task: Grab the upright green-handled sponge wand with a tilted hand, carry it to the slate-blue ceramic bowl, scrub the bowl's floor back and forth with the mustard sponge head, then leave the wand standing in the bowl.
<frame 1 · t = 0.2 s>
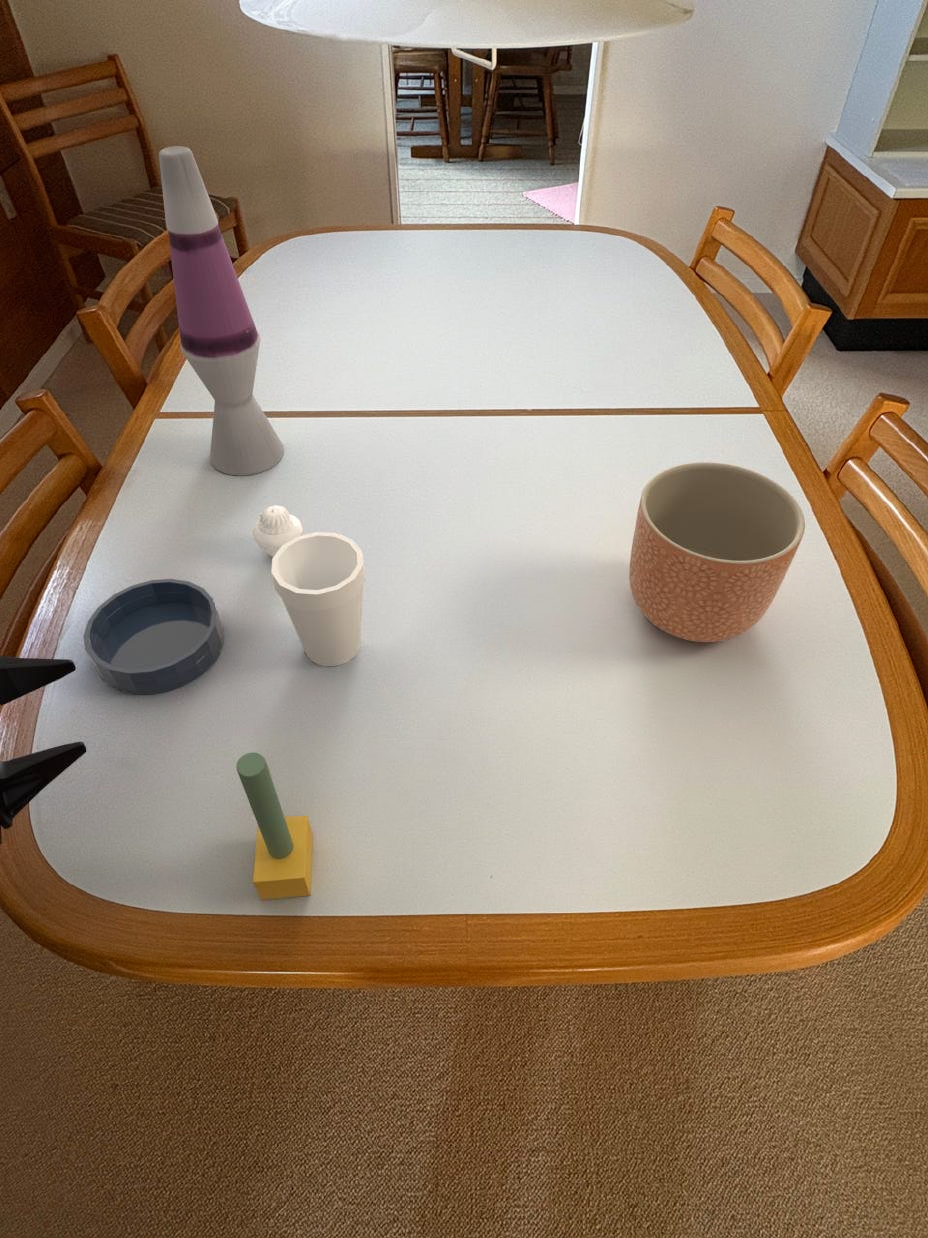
hand: (79, 703, 65), 15 cm above the table, tool horizontal, fingers open, 9 cm apart
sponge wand: (287, 866, 72), on the table
bowl: (160, 645, 90), on the table
foam cup: (333, 646, 90), on the table
lamp: (247, 455, 116), on the table
white citrus juicer: (282, 552, 101), on the table
planter: (690, 609, 94), on the table
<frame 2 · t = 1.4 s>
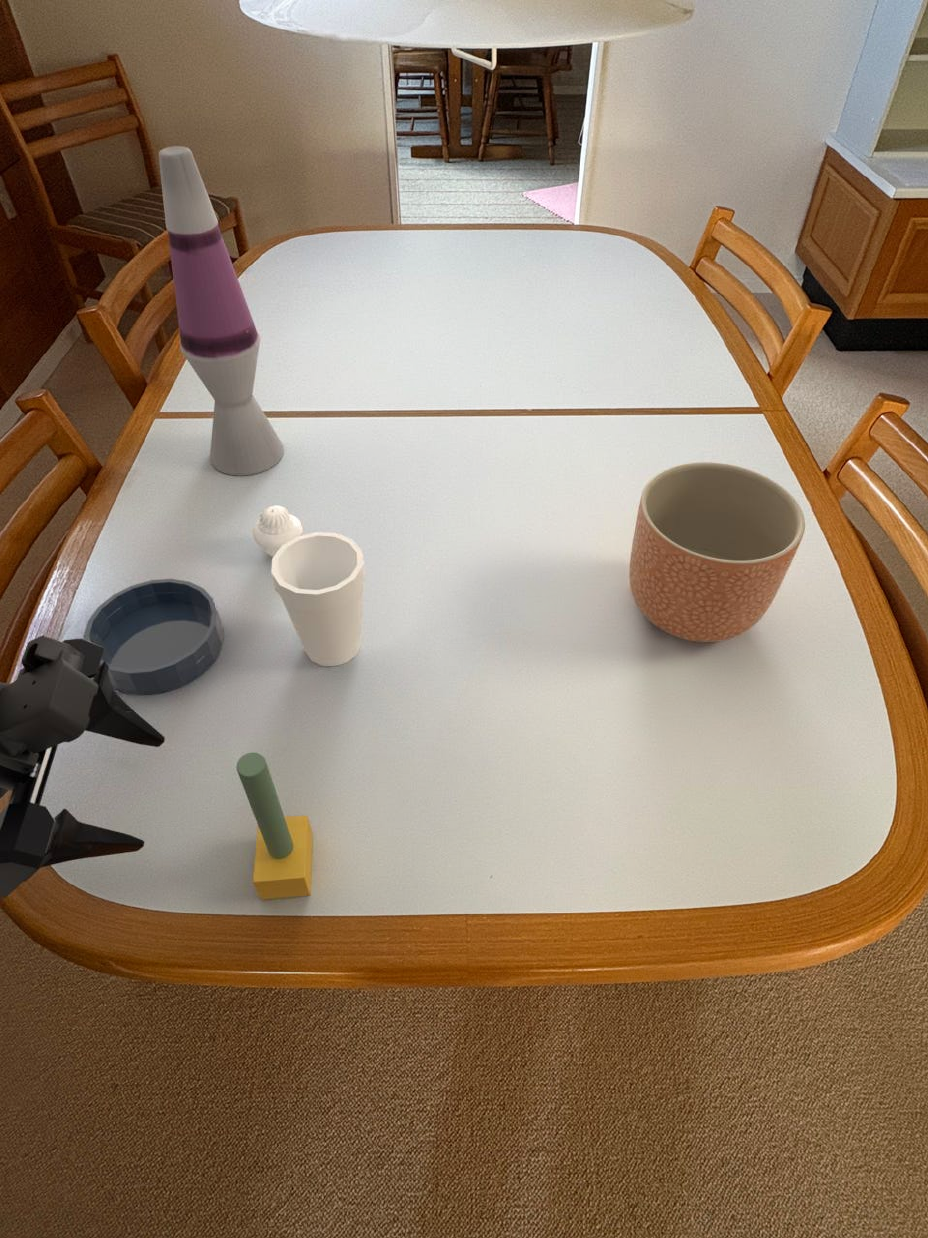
hand: (152, 791, 61), 14 cm above the table, tool tilted 45°, fingers open, 9 cm apart
nothing on the table moved.
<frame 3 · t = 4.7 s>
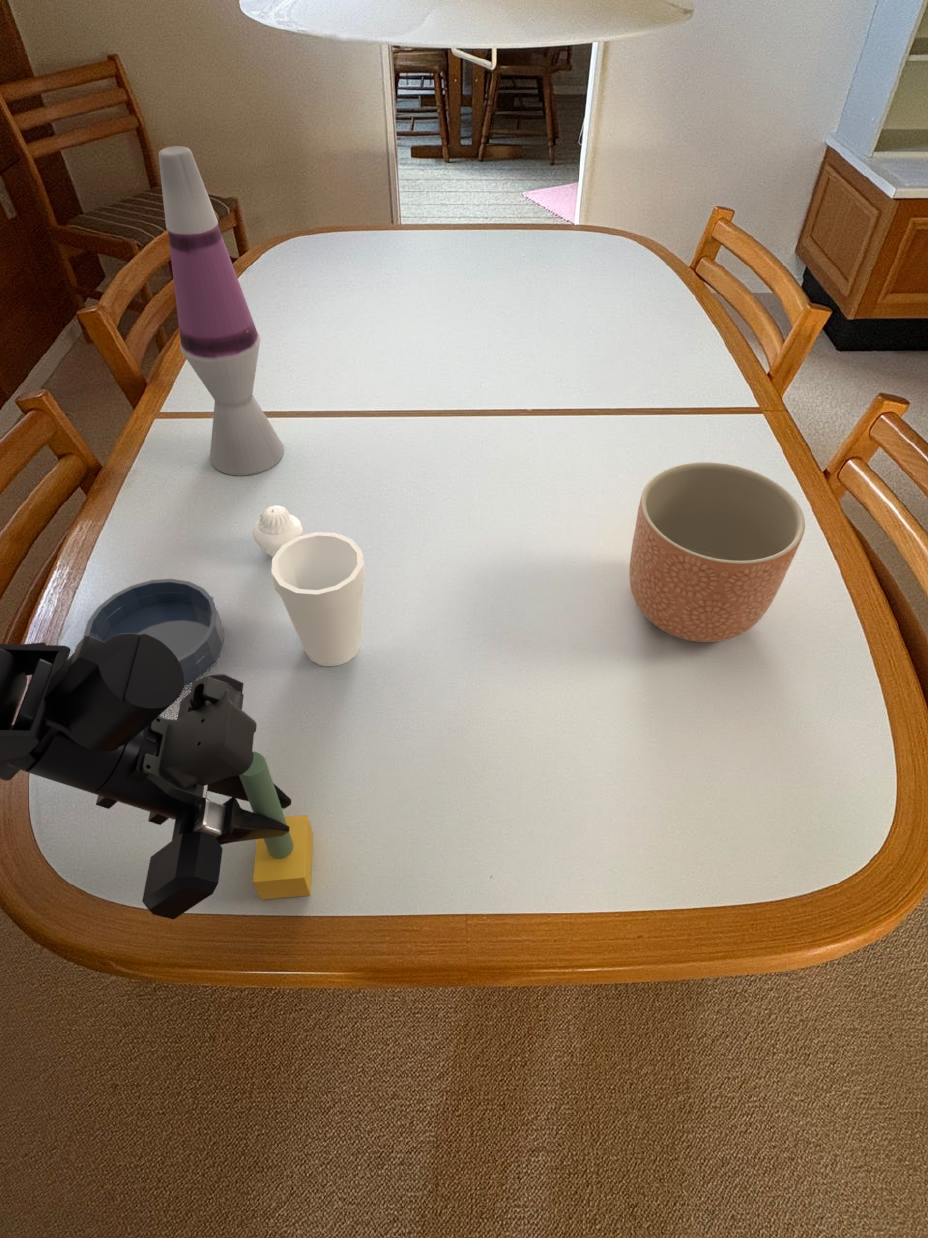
hand: (287, 818, 66), 9 cm above the table, tool tilted 45°, fingers closed on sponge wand, 2 cm apart
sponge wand: (287, 866, 72), on the table, touching gripper
everything else where it was.
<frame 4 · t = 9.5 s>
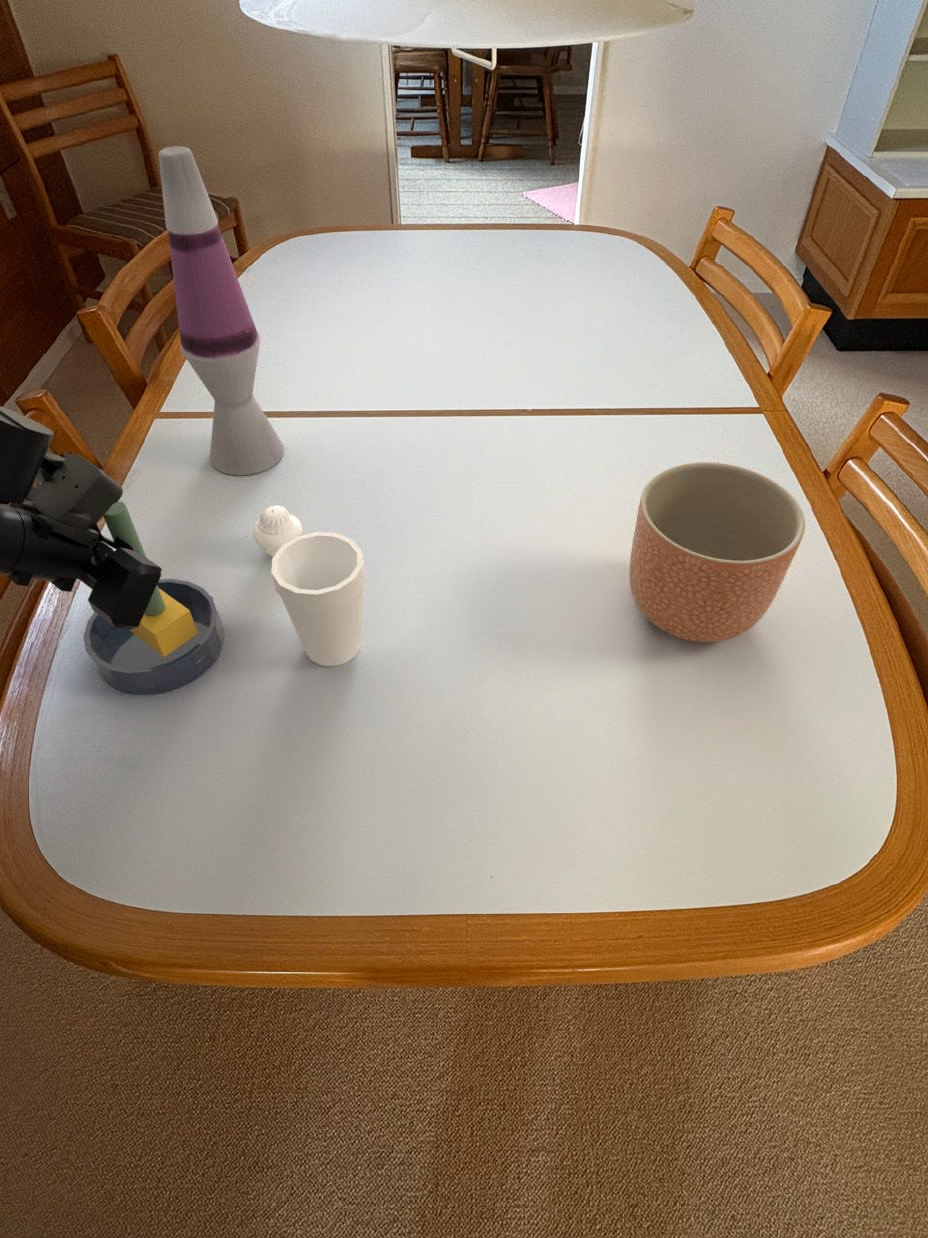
hand: (151, 567, 79), 13 cm above the table, tool tilted 45°, fingers closed on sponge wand, 2 cm apart
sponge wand: (164, 632, 85), point 5 cm above the table, touching gripper
everything else where it was.
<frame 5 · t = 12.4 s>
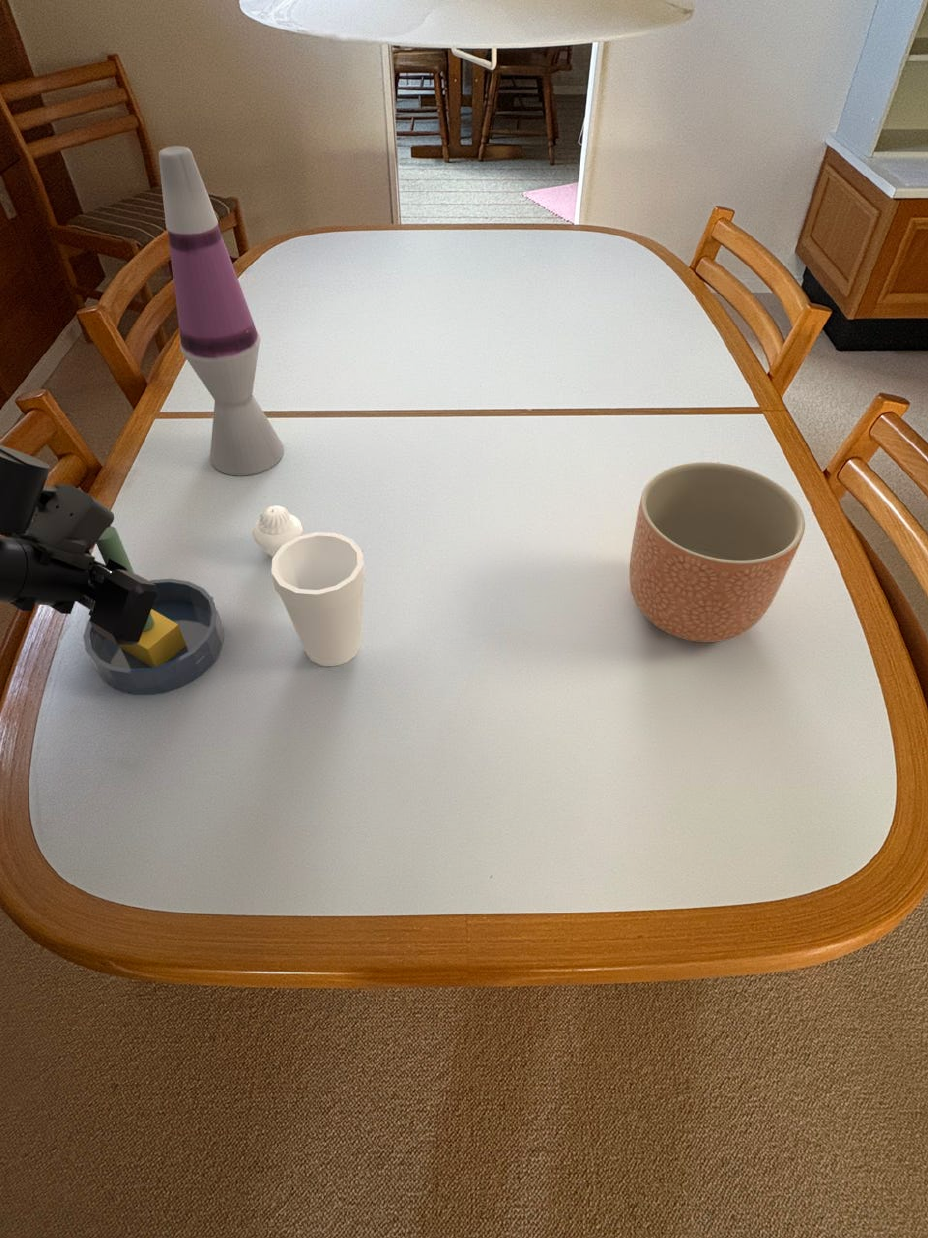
hand: (140, 586, 84), 9 cm above the table, tool tilted 45°, fingers closed on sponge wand, 2 cm apart
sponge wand: (153, 646, 89), point 1 cm above the table, touching gripper
everything else where it was.
when the fingers open (9 cm above the table, at t = 14.5 s): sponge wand stays where it is, resting on bowl.
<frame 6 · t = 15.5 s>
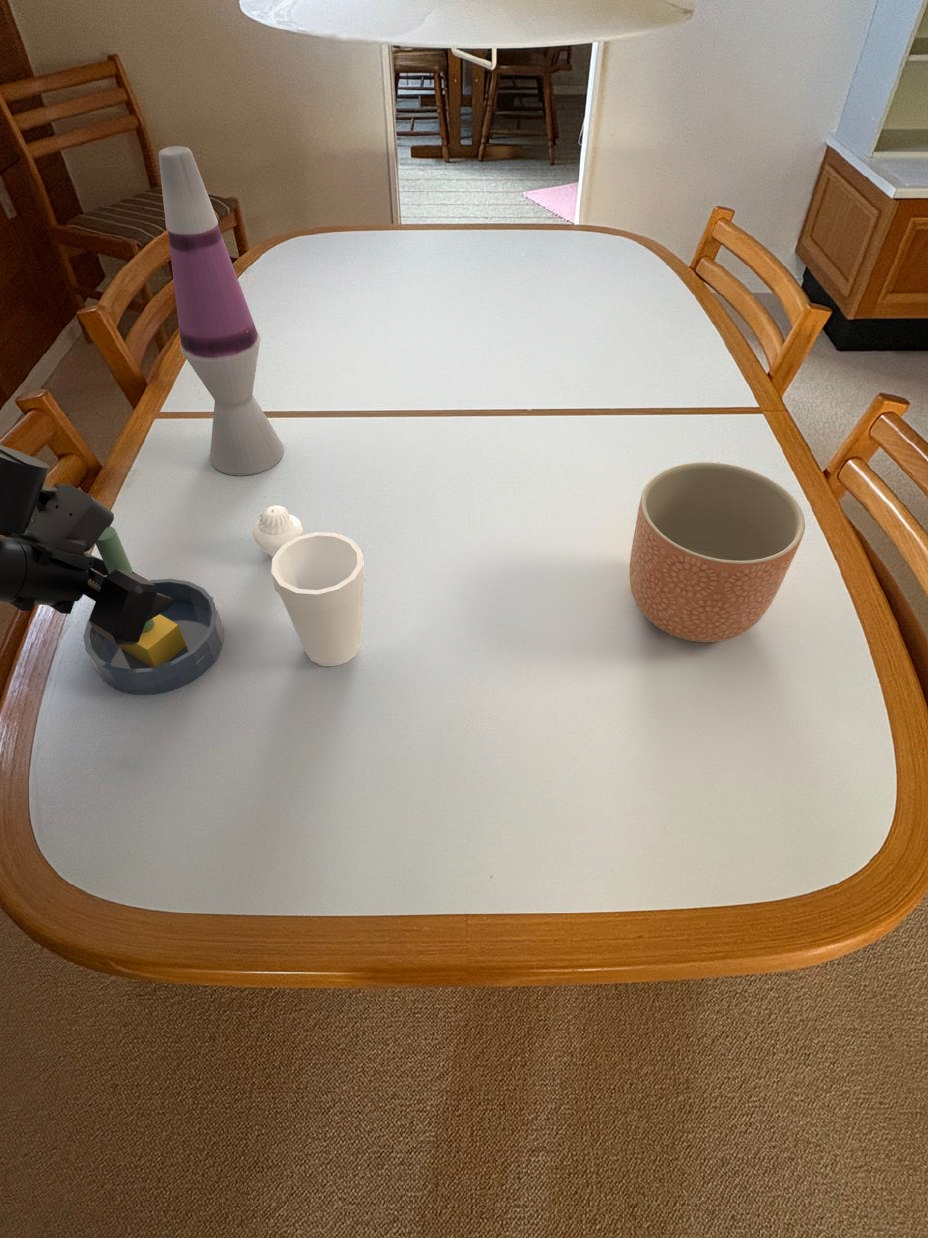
hand: (140, 585, 84), 9 cm above the table, tool tilted 45°, fingers open, 9 cm apart
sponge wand: (153, 647, 89), point 1 cm above the table, touching bowl
everything else where it was.
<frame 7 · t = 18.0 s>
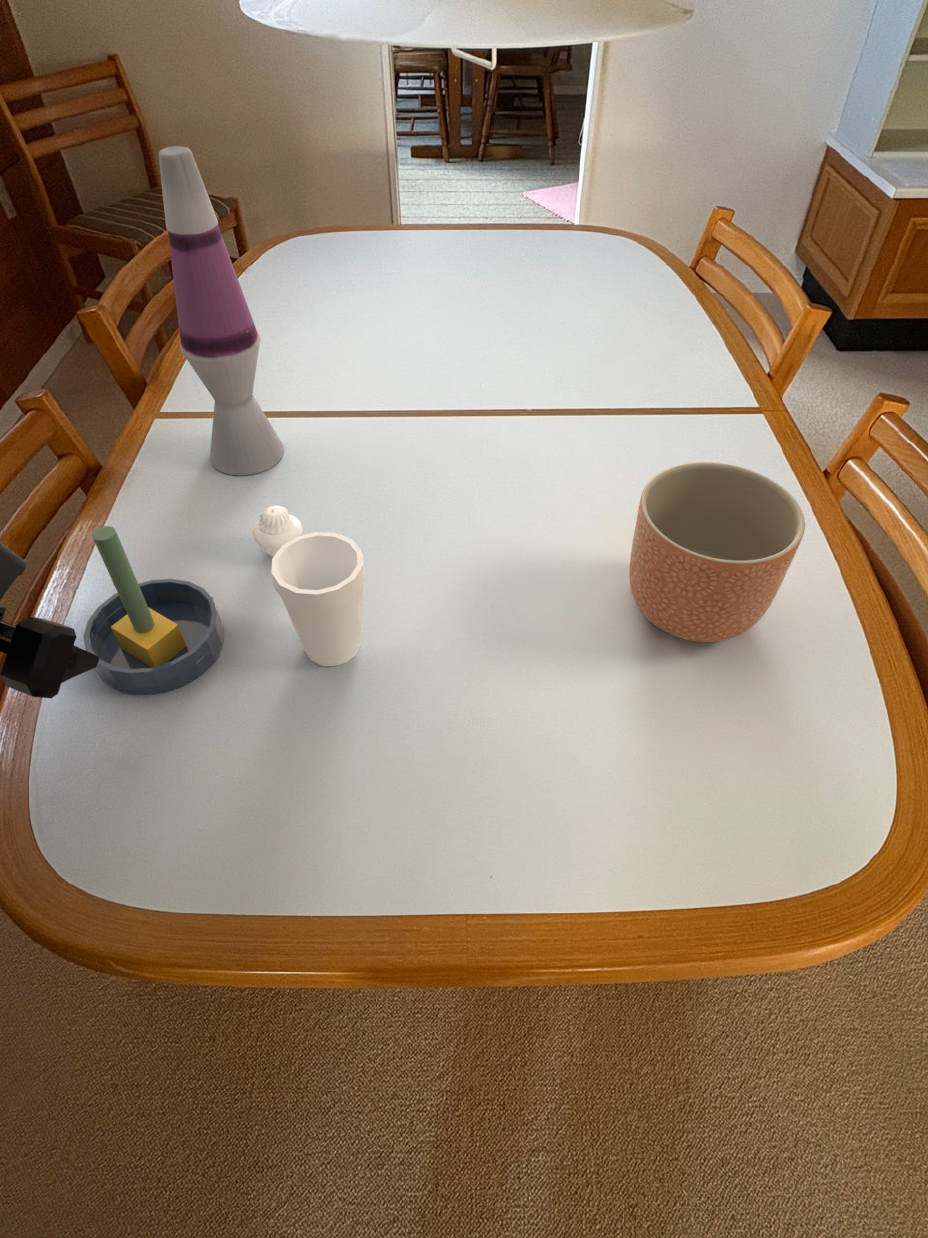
hand: (64, 650, 77), 10 cm above the table, tool tilted 40°, fingers open, 9 cm apart
nothing on the table moved.
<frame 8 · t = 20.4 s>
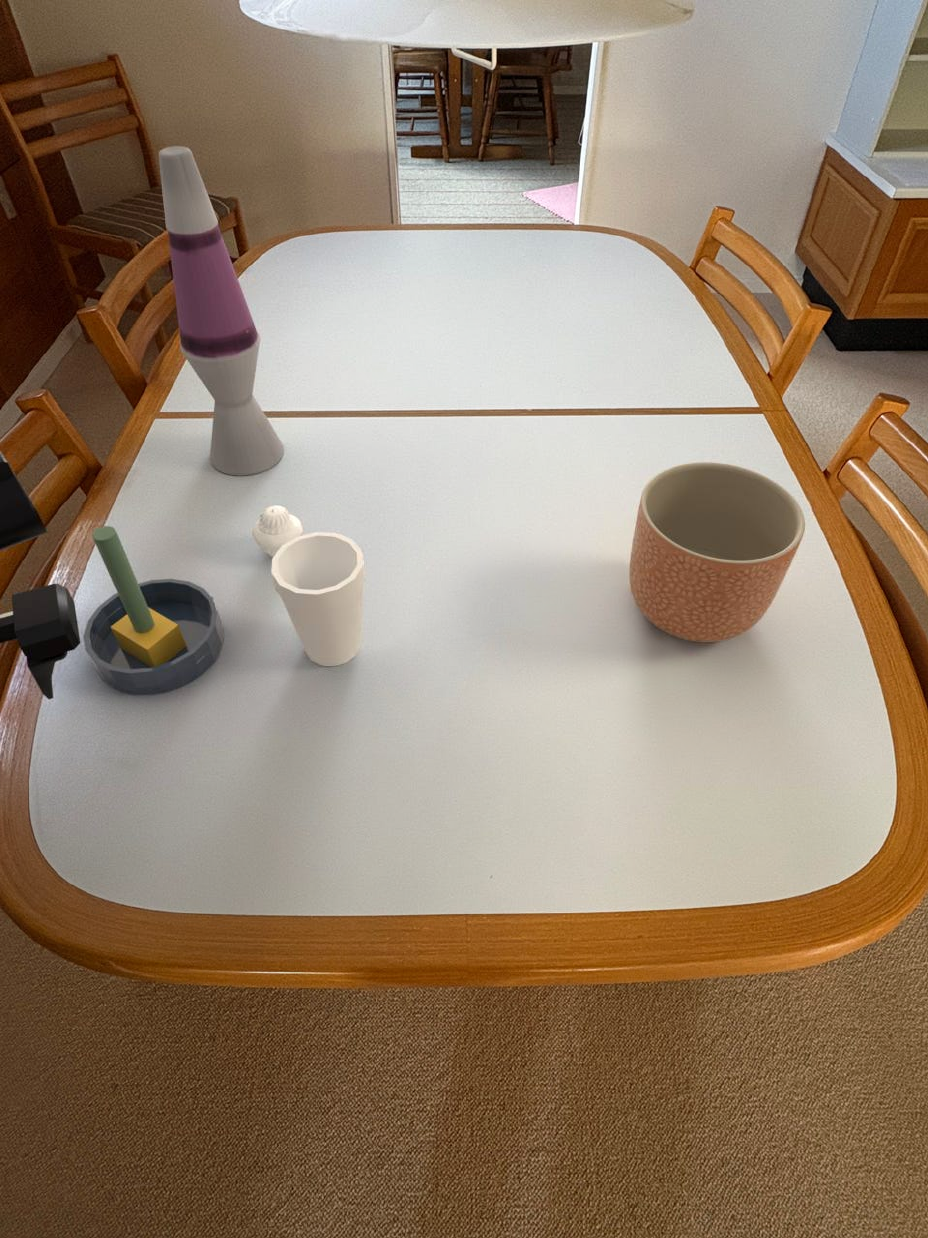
nothing on the table moved.
at the end: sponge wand 0.8 cm off-centre in the bowl, point 0.5 cm above the bowl's base; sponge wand tilted 0°; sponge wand moved 32.3 cm from its start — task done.
